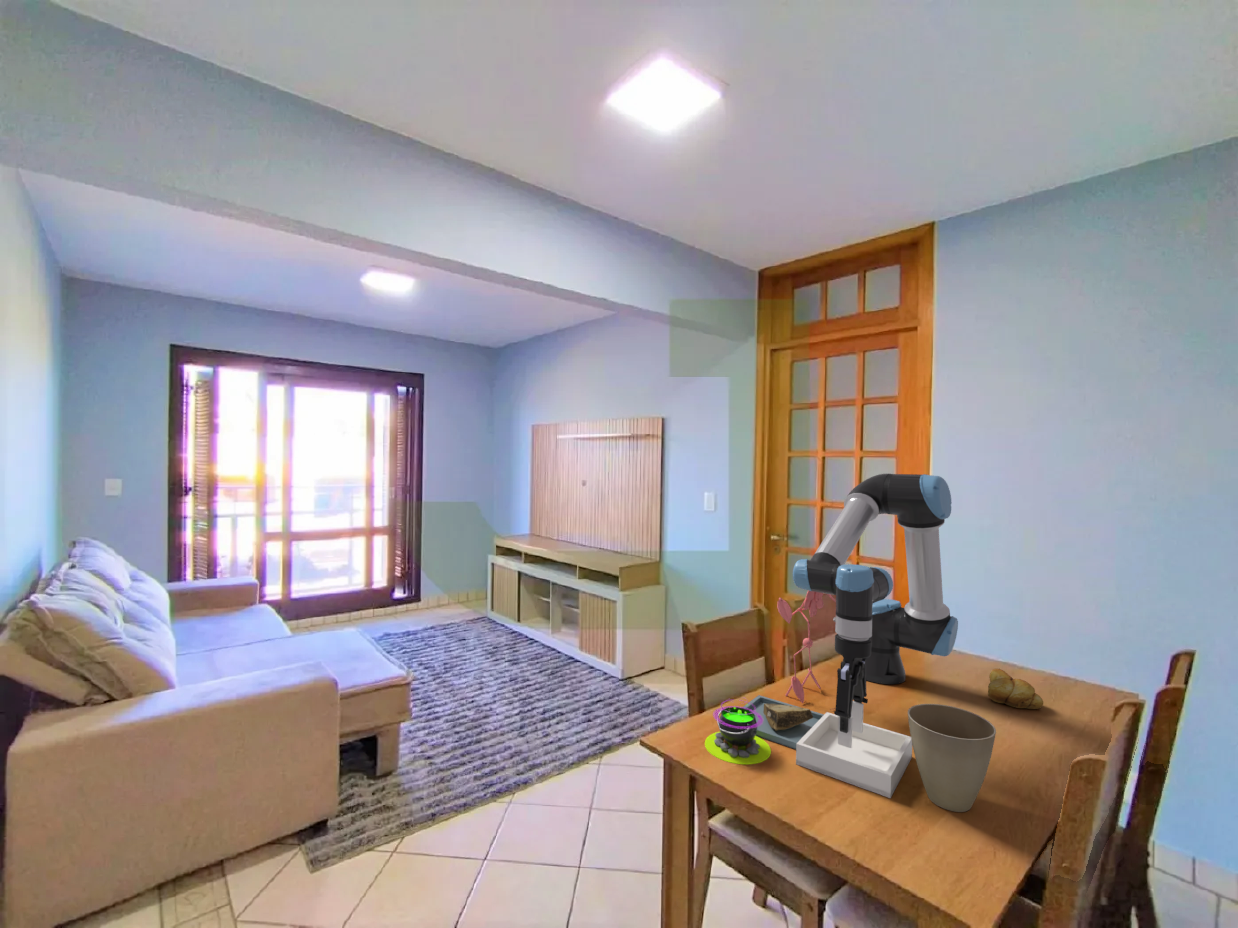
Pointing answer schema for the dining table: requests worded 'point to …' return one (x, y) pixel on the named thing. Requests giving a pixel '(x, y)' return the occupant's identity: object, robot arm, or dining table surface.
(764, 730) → the tray
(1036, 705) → the bread roll
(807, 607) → the flower sculpture
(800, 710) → the rock
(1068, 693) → the dining table surface
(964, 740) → the plant pot
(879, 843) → the dining table surface
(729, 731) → the toy cauldron
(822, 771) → the dish
